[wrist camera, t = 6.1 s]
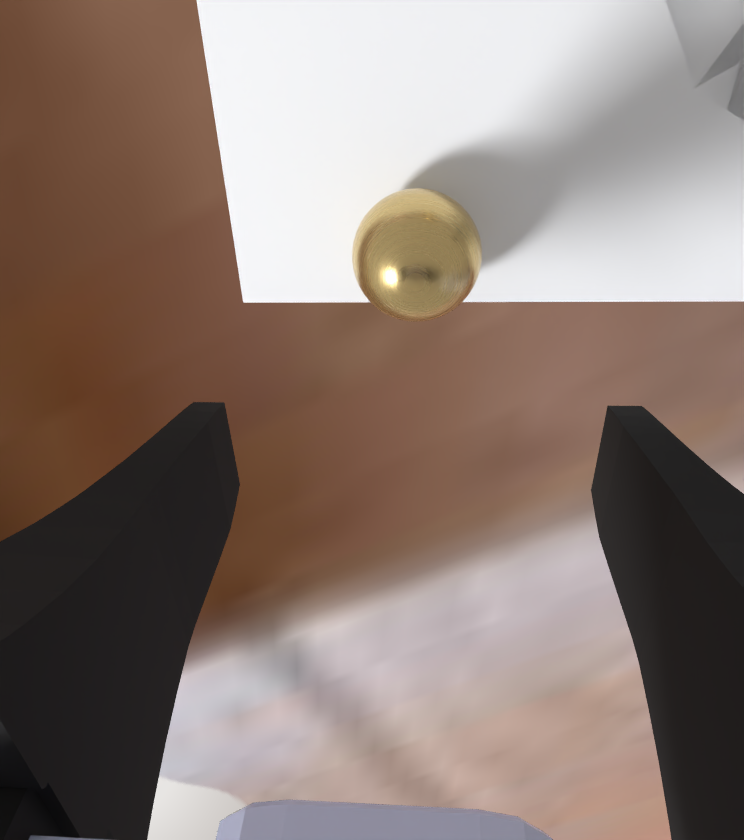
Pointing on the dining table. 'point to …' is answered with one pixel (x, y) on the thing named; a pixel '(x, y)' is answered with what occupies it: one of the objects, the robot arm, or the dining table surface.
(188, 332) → the dining table surface
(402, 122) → the plate
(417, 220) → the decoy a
